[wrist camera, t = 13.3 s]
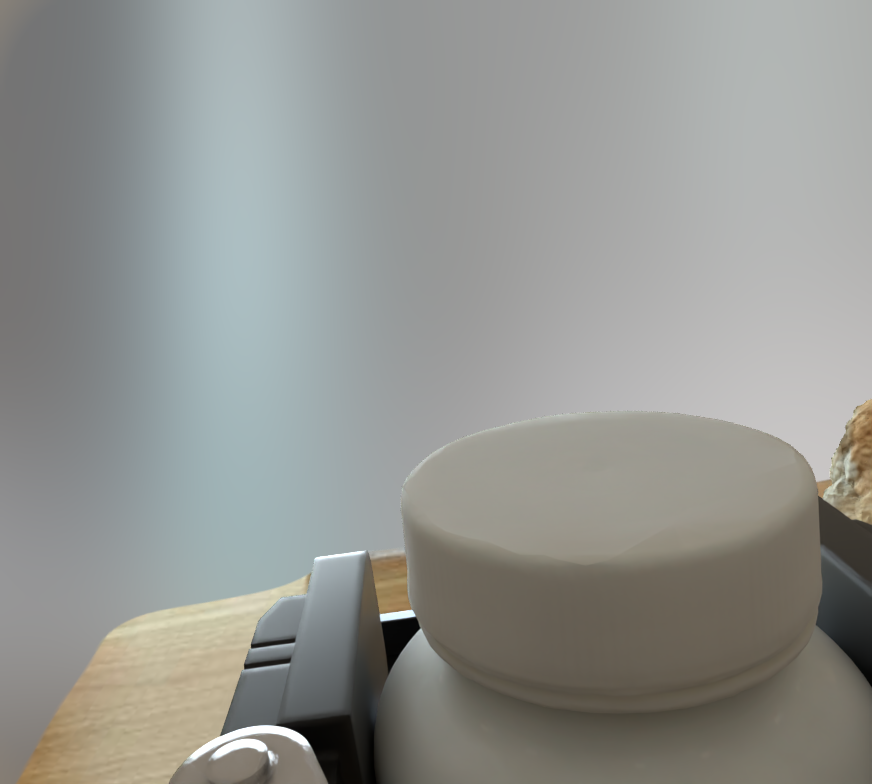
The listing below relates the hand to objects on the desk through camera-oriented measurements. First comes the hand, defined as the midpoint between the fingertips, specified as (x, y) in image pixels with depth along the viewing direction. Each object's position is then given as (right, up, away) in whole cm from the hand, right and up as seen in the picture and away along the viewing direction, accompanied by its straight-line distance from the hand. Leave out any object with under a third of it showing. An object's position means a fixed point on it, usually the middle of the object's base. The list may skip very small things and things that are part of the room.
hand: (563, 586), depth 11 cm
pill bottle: (+1, -8, -1) cm, 8 cm away
